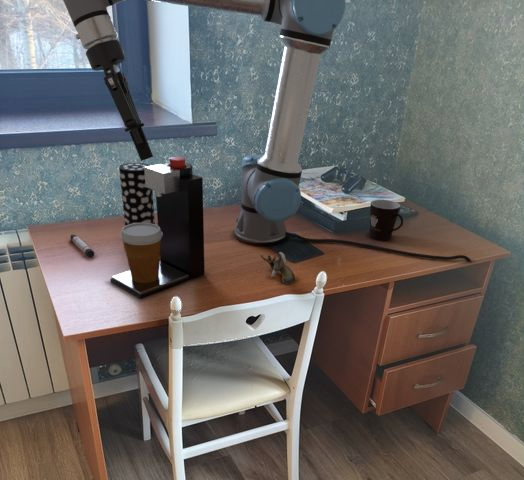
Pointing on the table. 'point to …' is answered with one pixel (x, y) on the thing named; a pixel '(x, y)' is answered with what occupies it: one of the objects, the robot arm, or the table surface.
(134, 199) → the spotted tube
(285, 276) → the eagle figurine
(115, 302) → the table surface
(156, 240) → the disposable coffee cup
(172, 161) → the button
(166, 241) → the tower
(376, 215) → the coffee mug
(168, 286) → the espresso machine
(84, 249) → the marker
